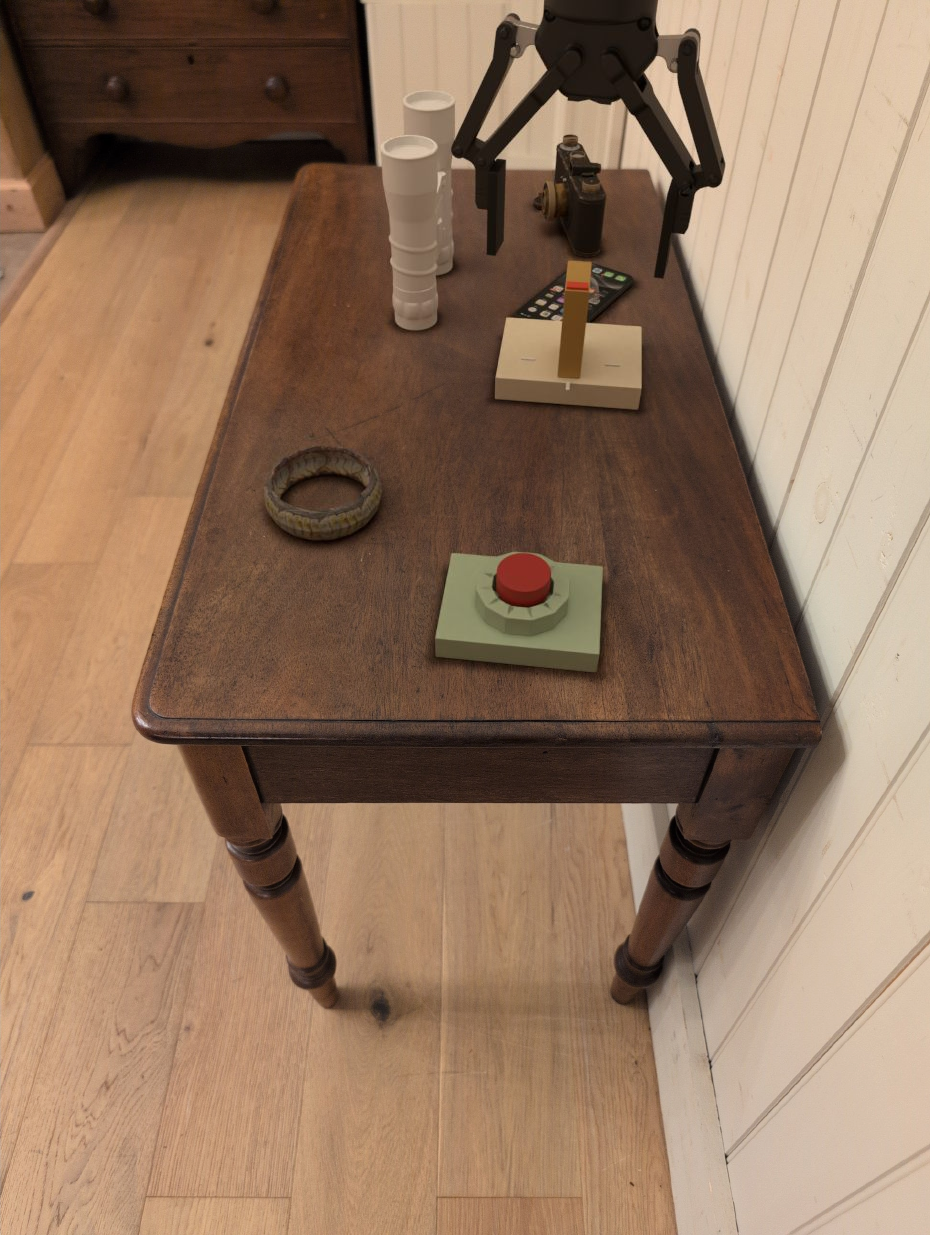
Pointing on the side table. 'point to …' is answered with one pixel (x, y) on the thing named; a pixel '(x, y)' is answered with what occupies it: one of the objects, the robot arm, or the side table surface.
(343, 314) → the side table surface
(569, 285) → the lock knob
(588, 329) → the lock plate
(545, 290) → the smartphone
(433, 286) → the binoculars
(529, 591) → the button
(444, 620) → the box
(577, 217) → the camera
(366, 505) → the decorative ring
